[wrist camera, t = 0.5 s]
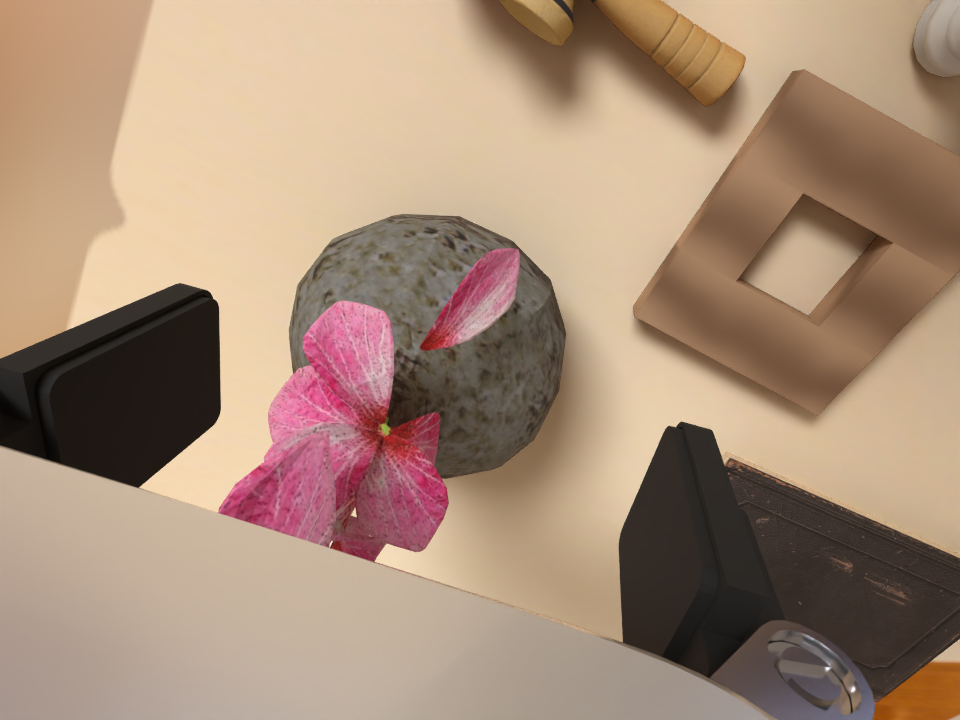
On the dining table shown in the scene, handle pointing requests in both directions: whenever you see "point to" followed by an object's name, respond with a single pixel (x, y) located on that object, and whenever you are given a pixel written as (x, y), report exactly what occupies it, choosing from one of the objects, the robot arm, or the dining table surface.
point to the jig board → (761, 208)
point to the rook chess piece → (939, 38)
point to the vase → (403, 382)
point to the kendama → (646, 39)
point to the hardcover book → (852, 576)
